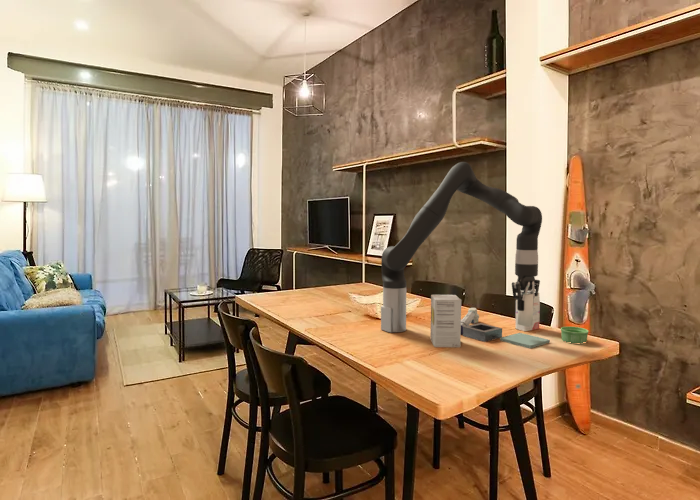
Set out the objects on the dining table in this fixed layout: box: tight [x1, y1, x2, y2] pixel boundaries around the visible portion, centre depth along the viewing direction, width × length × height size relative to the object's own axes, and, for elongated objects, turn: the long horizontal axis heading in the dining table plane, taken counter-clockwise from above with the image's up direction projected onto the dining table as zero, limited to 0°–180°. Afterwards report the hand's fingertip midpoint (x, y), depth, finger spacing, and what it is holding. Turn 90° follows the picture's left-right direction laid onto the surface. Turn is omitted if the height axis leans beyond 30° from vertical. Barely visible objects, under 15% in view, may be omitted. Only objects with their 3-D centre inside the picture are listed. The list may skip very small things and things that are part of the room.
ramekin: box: [560, 325, 589, 344], centre depth 157 cm, size 9×9×4 cm
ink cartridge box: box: [515, 292, 541, 332], centre depth 174 cm, size 9×5×15 cm, turn 117°
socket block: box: [462, 322, 503, 343], centre depth 163 cm, size 10×10×4 cm
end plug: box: [518, 293, 533, 326], centre depth 156 cm, size 5×5×11 cm
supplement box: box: [430, 294, 462, 348], centre depth 154 cm, size 10×9×17 cm
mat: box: [499, 332, 551, 349], centre depth 157 cm, size 12×12×1 cm
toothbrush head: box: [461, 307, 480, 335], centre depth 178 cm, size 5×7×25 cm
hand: (525, 309), depth 156 cm, fingers closed on end plug, 5 cm apart
